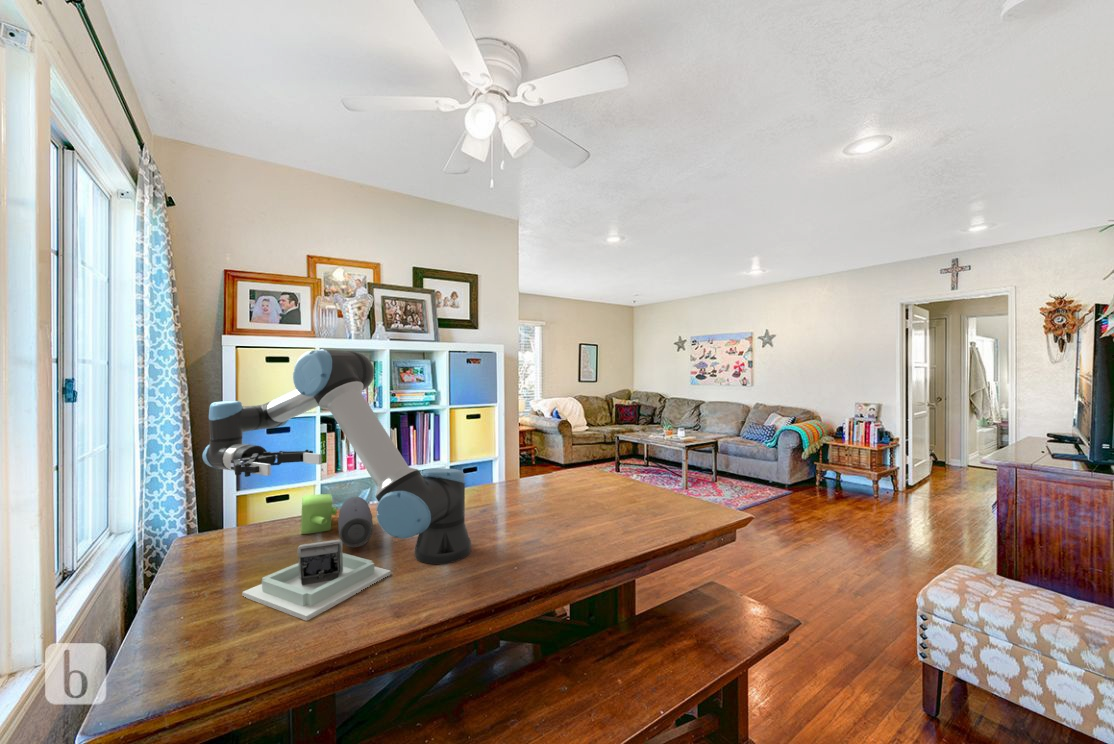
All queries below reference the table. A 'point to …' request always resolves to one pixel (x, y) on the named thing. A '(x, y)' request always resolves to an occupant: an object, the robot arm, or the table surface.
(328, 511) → the gearbox
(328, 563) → the electrical switch
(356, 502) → the bluetooth speaker
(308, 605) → the pocket tray
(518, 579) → the table surface
